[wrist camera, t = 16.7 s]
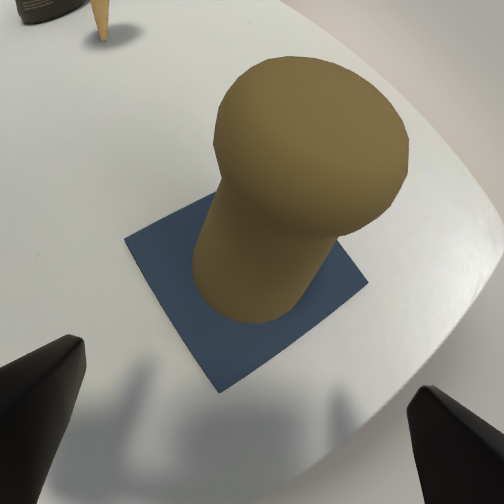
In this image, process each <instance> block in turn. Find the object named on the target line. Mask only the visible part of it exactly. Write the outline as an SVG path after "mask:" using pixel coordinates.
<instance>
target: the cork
mask: <svg viewBox="0 0 504 504" xmlns="http://www.w3.org/2000/svg"><path fill="white" fill-rule="evenodd" d="M213 146H214V150H215V154H216V158H217V162H218V165H219V169H220V173H221V177H222V179H221V182H220V184H219V187H218V189H217V191H216V194H215V196H214V199H213V201H212V204H211V206H210V209H209V211H208V214H207V216H206V219H205V221H204V224H203V227H202V229H201V232H200V234H199V237H198V239H197V242H196V245H195V247H194V250H193V258H192V266H191V268H192V273H193V277H194V282H195V286H196V287H197V289H198V291H199V292H200V294H201V296H202V297H203V299H204V301H205V302H206V303H207V304H208V305H210V306H211V307H212V308H213V309H214V310H215V311H216V312H218V313H219V314H220V315H222V316H225V317H227V318H229V319H232V320H234V321H236V322H240V323H252V324H260V323H264V322H268V321H272V320H276V319H278V318H279V317H281V316H283V315H284V314H286V313H287V312H289V311H290V310H292V308H293V307H294V306H295V305H296V303H297V302H298V301H299V299H300V298H301V297H302V295H303V294H304V292H305V291H306V289H307V287H308V286H309V284H310V283H311V281H312V280H313V278H314V276H315V275H316V273H317V271H318V270H319V268H320V267H321V265H322V263H323V262H324V260H325V258H326V257H327V255H328V254H329V252H330V250H331V249H332V247H333V245H334V244H335V242H336V240H337V238H338V237H339V236H344V235H347V234H350V233H352V232H355V231H357V230H359V229H361V228H362V227H364V226H366V225H367V224H369V223H370V222H372V221H373V220H375V219H377V218H378V217H379V216H380V215H381V214H382V213H384V212H385V211H386V210H387V209H388V208H389V207H390V206H391V204H392V202H393V201H394V199H395V197H396V195H397V194H398V192H399V190H400V189H401V187H402V184H403V182H404V180H405V178H406V176H407V174H408V155H409V138H408V135H407V132H406V129H405V126H404V124H403V121H402V119H401V118H400V116H399V115H398V113H397V112H396V110H395V109H394V107H393V106H392V105H391V103H390V102H389V101H388V99H387V98H386V97H385V96H384V95H383V94H382V93H381V92H380V91H378V90H377V89H376V88H375V87H374V86H373V85H372V84H371V83H369V82H368V81H366V80H365V79H363V78H362V77H360V76H359V75H357V74H356V73H354V72H352V71H350V70H348V69H346V68H344V67H341V66H339V65H337V64H335V63H331V62H328V61H324V60H320V59H316V58H308V57H294V56H286V57H279V58H273V59H267V60H265V61H263V62H261V63H259V64H257V65H255V66H253V67H251V68H250V69H248V70H247V71H246V72H245V73H243V74H242V75H241V76H240V77H238V79H237V80H236V81H235V82H234V84H233V85H232V86H231V87H230V89H229V90H228V91H227V92H226V94H225V96H224V98H223V100H222V102H221V104H220V106H219V109H218V114H217V120H216V125H215V132H214V141H213Z"/></svg>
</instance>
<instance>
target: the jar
mask: <svg viewBox="0 0 504 504" xmlns="http://www.w3.org/2000/svg"><path fill="white" fill-rule="evenodd" d="M15 1H16V6H17V10H18V14H19V15H20V17H21V19H22V20H23V21H24V22H26V23H28V24H35V23H41V22H45V21H48V20H52V19H54V18H57V17H60V16H62V15H64V14H67V13H69V12H71V11H73V10H74V9H76V8H78V7H79V6H80V5H82V4H83V3H84V1H85V0H15Z"/></svg>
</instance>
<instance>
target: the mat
mask: <svg viewBox="0 0 504 504" xmlns="http://www.w3.org/2000/svg"><path fill="white" fill-rule="evenodd" d="M215 194H216V192H214V193H212V194H210V195H208V196H206V197H204V198H202V199H200V200H198V201H196V202H194V203H192V204H190V205H188V206H186V207H184V208H182V209H180V210H178V211H176V212H174V213H172V214H170V215H168V216H166V217H164V218H162V219H161V220H159V221H157V222H155V223H153V224H151V225H149V226H147V227H145V228H143V229H142V230H140V231H138V232H136V233H134V234H132V235H130V236H129V237H127V238H125V239H124V240H125V243H126V244H127V246H128V248H129V250H130V252H131V254H132V256H133V257H134V259H135V261H136V263H137V265H138V266H139V268H140V270H141V272H142V274H143V275H144V277H145V279H146V281H147V282H148V284H149V286H150V287H151V289H152V291H153V293H154V294H155V296H156V298H157V299H158V301H159V303H160V304H161V306H162V308H163V309H164V311H165V313H166V314H167V316H168V317H169V319H170V321H171V322H172V324H173V325H174V327H175V329H176V330H177V332H178V333H179V335H180V337H181V338H182V340H183V341H184V343H185V344H186V346H187V347H188V349H189V350H190V352H191V353H192V355H193V356H194V358H195V359H196V361H197V362H198V364H199V365H200V367H201V368H202V370H203V371H204V373H205V374H206V376H207V377H208V378H209V380H210V381H211V383H212V384H213V386H214V387H215V388H216V390H217V391H218V393H221V392H223V391H224V390H226V389H227V388H229V387H230V386H232V385H233V384H235V383H236V382H238V381H239V380H241V379H242V378H244V377H245V376H247V375H248V374H250V373H251V372H253V371H254V370H255V369H257V368H258V367H260V366H261V365H263V364H264V363H266V362H267V361H268V360H270V359H271V358H273V357H274V356H275V355H277V354H278V353H280V352H281V351H282V350H284V349H285V348H286V347H288V346H289V345H291V344H292V343H293V342H295V341H296V340H297V339H299V338H300V337H301V336H303V335H304V334H305V333H307V332H308V331H309V330H311V329H312V328H313V327H314V326H316V325H317V324H318V323H320V322H321V321H322V320H323V319H325V318H326V317H327V316H329V315H330V314H331V313H332V312H334V311H335V310H336V309H337V308H339V307H340V306H341V305H342V304H344V303H345V302H346V301H347V300H349V299H350V298H351V297H352V296H353V295H355V294H356V293H357V292H358V291H359V290H361V289H362V288H363V287H364V286H365V285H367V284H368V281H367V280H366V278H365V277H364V276H363V274H362V273H361V272H360V270H359V269H358V267H357V266H356V265H355V263H354V262H353V261H352V259H351V258H350V257H349V255H348V254H347V253H346V251H345V250H344V249H343V247H342V246H341V245H340V243H339V242H338V241H337V240H336V242H335V244H334V245H333V247H332V249H331V250H330V252H329V254H328V255H327V257H326V258H325V260H324V262H323V263H322V265H321V267H320V268H319V270H318V271H317V273H316V275H315V276H314V278H313V280H312V281H311V283H310V284H309V286H308V287H307V289H306V291H305V292H304V294H303V295H302V297H301V298H300V299H299V301H298V302H297V303H296V305H295V306H294V307H293V308H292V310H290V311H289V312H287V313H286V314H284V315H283V316H281V317H279V318H278V319H276V320H272V321H268V322H264V323H260V324H252V323H240V322H236V321H234V320H232V319H229V318H227V317H225V316H222V315H220V314H219V313H218V312H216V311H215V310H214V309H213V308H212V307H211V306H210V305H208V304H207V303H206V302H205V301H204V299H203V297H202V296H201V294H200V292H199V291H198V289H197V287H196V286H195V282H194V277H193V273H192V268H191V266H192V258H193V250H194V247H195V245H196V242H197V239H198V237H199V234H200V232H201V229H202V227H203V224H204V221H205V219H206V216H207V214H208V211H209V209H210V206H211V204H212V201H213V199H214V196H215Z"/></svg>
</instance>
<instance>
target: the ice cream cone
mask: <svg viewBox="0 0 504 504" xmlns="http://www.w3.org/2000/svg"><path fill="white" fill-rule="evenodd" d="M90 1H91V6H92V9H93V13H94V17H95V21H96V24H97V28H98V32H99V36H100V39H101V41H103V42H104V41H106V40H107V37H108V10H109V0H90Z"/></svg>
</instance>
